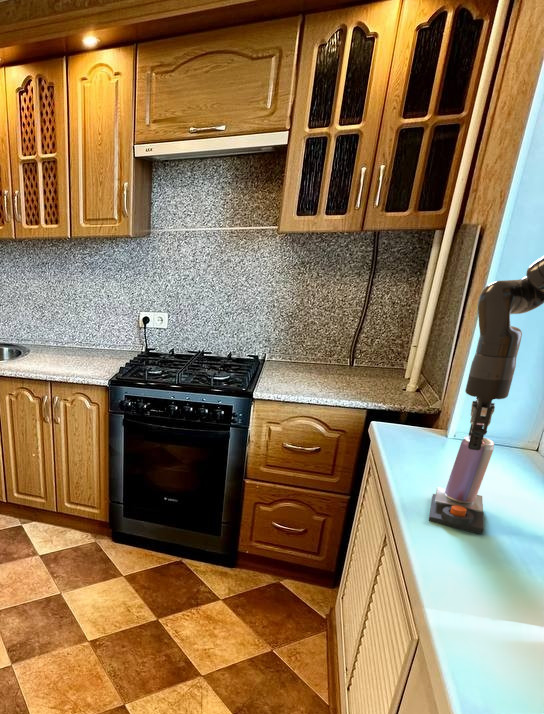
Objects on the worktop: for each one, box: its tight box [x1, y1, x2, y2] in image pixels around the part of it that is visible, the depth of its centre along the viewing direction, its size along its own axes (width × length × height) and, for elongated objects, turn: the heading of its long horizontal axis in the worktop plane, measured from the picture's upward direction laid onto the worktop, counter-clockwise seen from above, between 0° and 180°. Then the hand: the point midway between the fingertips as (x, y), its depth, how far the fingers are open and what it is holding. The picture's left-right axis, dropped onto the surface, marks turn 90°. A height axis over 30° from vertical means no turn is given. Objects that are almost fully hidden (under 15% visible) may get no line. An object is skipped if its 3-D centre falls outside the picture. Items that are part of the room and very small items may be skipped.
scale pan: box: [435, 486, 484, 513], centre depth 125 cm, size 9×9×1 cm
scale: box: [428, 493, 485, 535], centre depth 123 cm, size 15×10×3 cm
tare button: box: [450, 505, 467, 517], centre depth 119 cm, size 3×3×2 cm
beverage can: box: [445, 435, 495, 503], centre depth 122 cm, size 6×6×15 cm
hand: (473, 443), depth 120 cm, fingers open, 8 cm apart
